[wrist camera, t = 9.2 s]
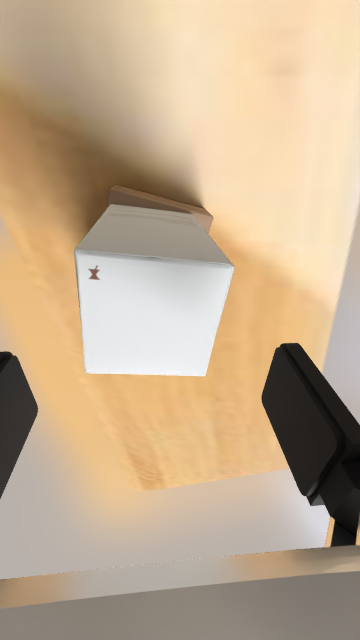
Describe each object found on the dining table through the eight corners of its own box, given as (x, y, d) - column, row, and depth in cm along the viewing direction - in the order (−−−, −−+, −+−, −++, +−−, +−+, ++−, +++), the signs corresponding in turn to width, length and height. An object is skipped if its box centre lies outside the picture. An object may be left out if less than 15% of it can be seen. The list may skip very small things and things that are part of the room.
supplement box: (109, 283, 25) (78, 376, 15) (109, 201, 21) (68, 244, 11) (183, 290, 26) (206, 380, 16) (196, 213, 23) (238, 263, 12)
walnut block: (116, 184, 25) (109, 189, 21) (204, 208, 27) (213, 217, 23) (106, 270, 30) (98, 288, 25) (181, 285, 31) (186, 305, 27)
